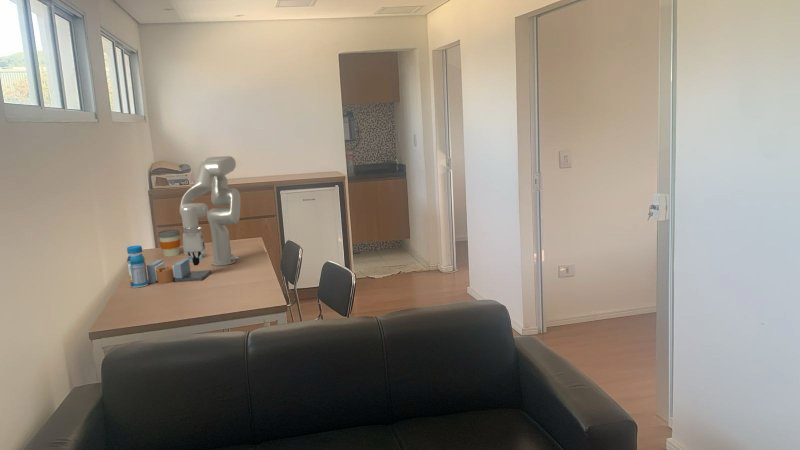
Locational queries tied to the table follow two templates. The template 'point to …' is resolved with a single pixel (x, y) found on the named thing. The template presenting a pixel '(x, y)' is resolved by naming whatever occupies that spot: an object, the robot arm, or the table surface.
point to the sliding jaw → (181, 268)
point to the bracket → (165, 275)
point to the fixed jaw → (154, 270)
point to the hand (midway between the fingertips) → (196, 264)
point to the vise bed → (194, 276)
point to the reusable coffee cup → (169, 242)
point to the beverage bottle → (136, 267)
